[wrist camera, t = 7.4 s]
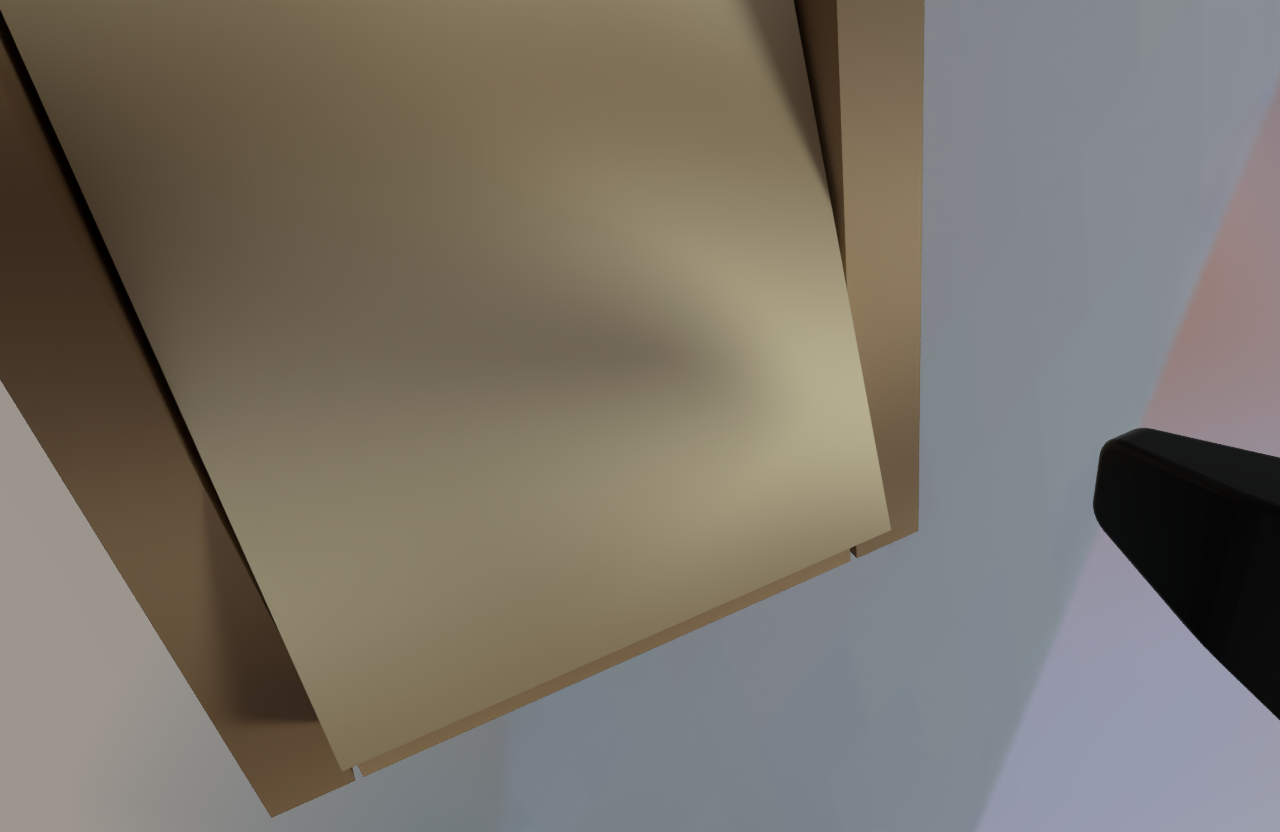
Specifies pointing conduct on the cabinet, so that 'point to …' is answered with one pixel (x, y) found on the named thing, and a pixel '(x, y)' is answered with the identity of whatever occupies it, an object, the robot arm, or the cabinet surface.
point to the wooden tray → (459, 333)
